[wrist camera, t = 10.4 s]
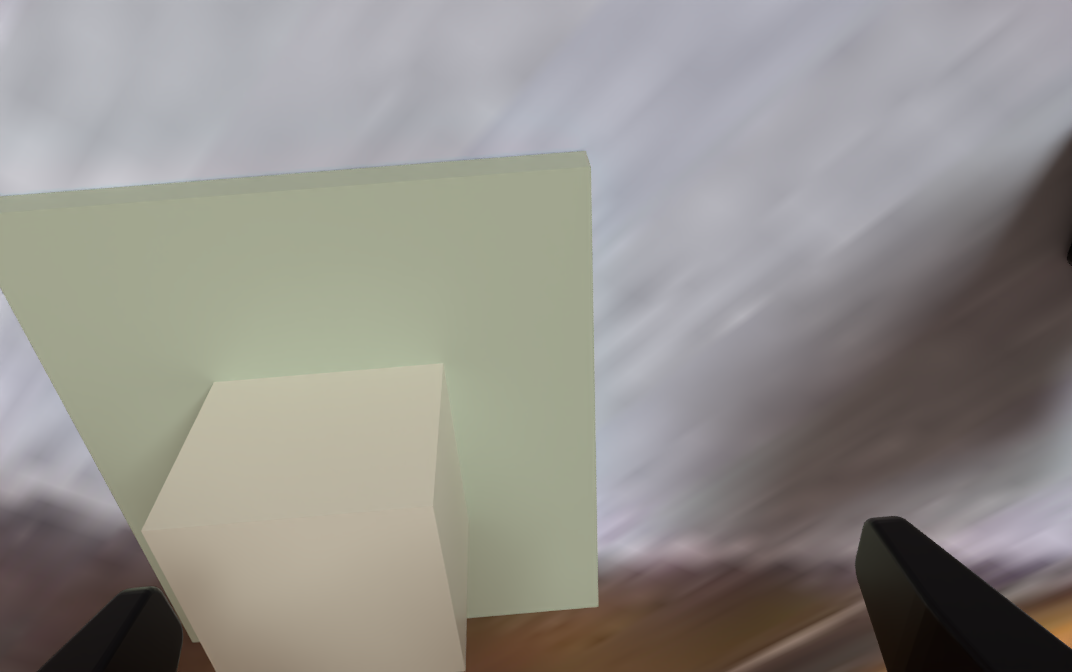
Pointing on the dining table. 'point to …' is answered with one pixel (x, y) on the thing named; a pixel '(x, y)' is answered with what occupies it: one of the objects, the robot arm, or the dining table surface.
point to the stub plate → (338, 330)
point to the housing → (320, 524)
